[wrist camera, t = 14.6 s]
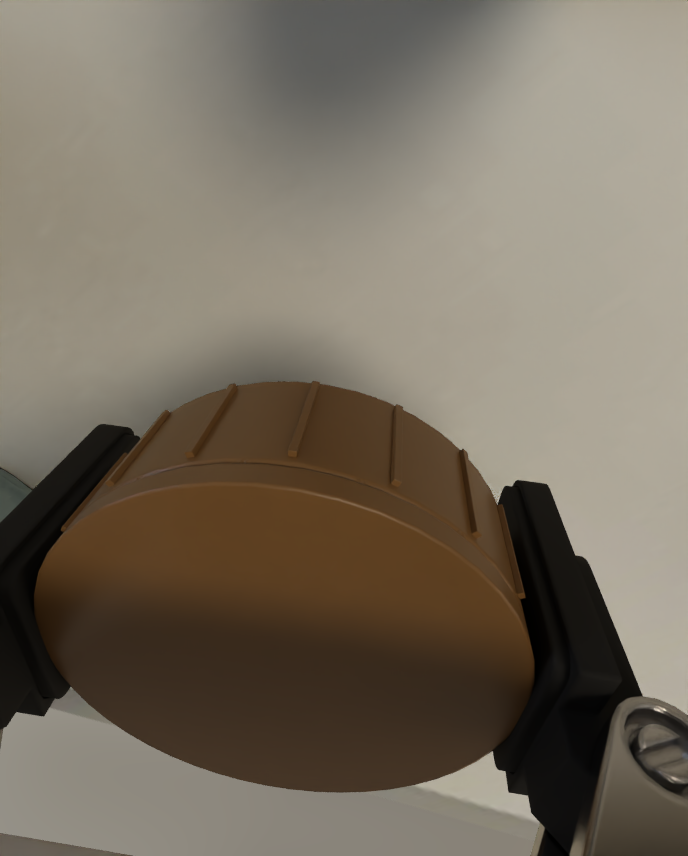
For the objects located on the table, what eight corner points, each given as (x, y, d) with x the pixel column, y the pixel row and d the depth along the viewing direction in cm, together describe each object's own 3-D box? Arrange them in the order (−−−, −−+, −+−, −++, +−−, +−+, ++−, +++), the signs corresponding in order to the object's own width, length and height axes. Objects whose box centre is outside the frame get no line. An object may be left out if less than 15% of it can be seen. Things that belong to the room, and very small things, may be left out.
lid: (479, 329, 7) (512, 425, 5) (522, 657, 10) (551, 796, 8) (39, 419, 8) (-86, 521, 6) (209, 675, 12) (167, 795, 10)
